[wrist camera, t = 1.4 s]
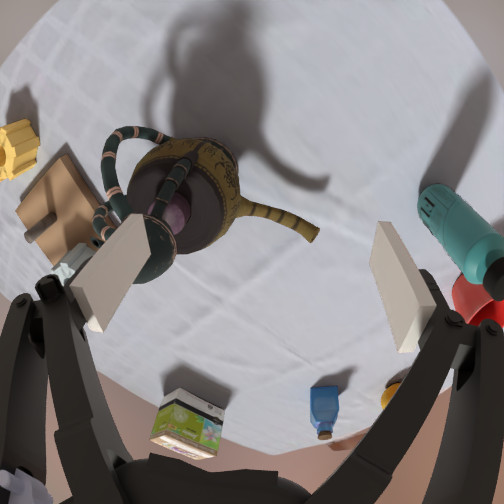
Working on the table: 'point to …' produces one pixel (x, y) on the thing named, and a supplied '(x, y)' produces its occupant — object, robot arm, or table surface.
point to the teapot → (180, 197)
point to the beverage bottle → (465, 237)
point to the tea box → (188, 425)
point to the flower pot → (476, 303)
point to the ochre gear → (17, 149)
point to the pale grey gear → (72, 262)
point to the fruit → (388, 394)
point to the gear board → (60, 211)
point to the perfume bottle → (324, 410)
